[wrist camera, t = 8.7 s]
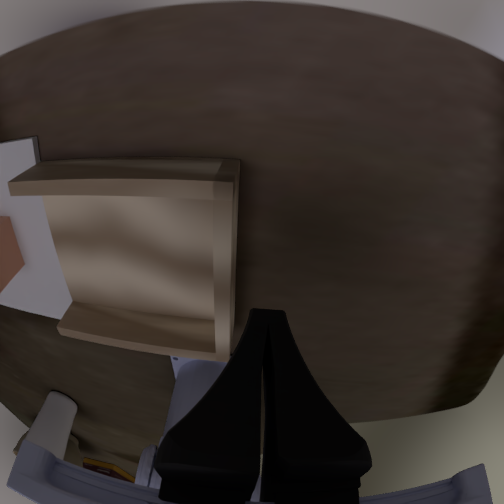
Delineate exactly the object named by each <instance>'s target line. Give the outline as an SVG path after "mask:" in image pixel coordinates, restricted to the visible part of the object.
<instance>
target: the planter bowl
mask: <svg viewBox="0 0 504 504" xmlns="http://www.w3.org/2000/svg"><path fill="white" fill-rule="evenodd" d="M27 433H28V431H27V432H26V433H25V434H24V435H23V436H22V437H21V438H20V440H19V441H18V443H17V446H16V447H15V448H14V450H13V452H14V454H15V455H16V456H17V454H18V451H19V449H20V446H21V444H22V441H23V440H24V439H25V437H26V435H27ZM78 444H79V442H78V440H77V439H76V438H75V437H74V436H73V435H71V434H70V435H69V439H68V443H67V447H66V451H65V455H64V459H63V460H64V461H66V462H69V463H71V464H74V465H77V466H79V467H82V468H83V463H82V457H81V454H80V450H79V448H78Z"/></svg>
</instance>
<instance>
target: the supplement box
mask: <svg viewBox="0 0 504 504" xmlns="http://www.w3.org/2000/svg"><path fill="white" fill-rule="evenodd" d="M83 468H85V469H88V470H91V471H94V472H97V473H100V474H103V475H106V476H109V477H113V478H116V479H120V480H123V481H127V482H131V483H134V484H135V478H134V477H132V476H131V475H129V474H128V473H126V472H125V471H123V470H122V469H120V468H119V467H117V466H116V465H114V464H109V463H105V462H100V461H96V460H93V459H89V458H84V461H83Z"/></svg>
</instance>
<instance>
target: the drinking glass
mask: <svg viewBox="0 0 504 504" xmlns="http://www.w3.org/2000/svg"><path fill="white" fill-rule="evenodd" d="M77 409H78V408H77V405H76V403H75V402H74V401H73V400H72V399H70V398H69V397H68V396H66V395H64V394H62V393H60V392H57V391H51V392H50V393H49V394H48V396H47V398H46V400H45V402H44V404H43V406H42V408H41V409H40V411H39V413H38V415H37V417H36V418H35V420H34V422H33V424H32V426H31V427H30V429H29V431H28V433H27V435H26V437H25V439H26V440H28V441H30V442H32V443H34V444H36V445H38V446H41V447H43V448H45V449H47V450H48V451H50V452H51V453H53V454H54V455H55V456H56V458H59V459H61V460H63V459H64V455H65V451H66V447H67V443H68V439H69V435H70V431H71V428H72V424H73V421H74V417H75V415H76V412H77Z"/></svg>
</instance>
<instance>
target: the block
mask: <svg viewBox="0 0 504 504" xmlns="http://www.w3.org/2000/svg"><path fill="white" fill-rule="evenodd" d="M24 265H25V263H24V260H23V257H22V255H21V252H20V249H19V246H18V243H17V239H16V236H15V233H14V230H13V226H12V223H11V219H10V216H0V293H1V292H2V291H3V289H4V288H5V287H6V286H7V285H8V283H9V282H10V281H11V280H12V279H13V278H14V276H15V275H16V274H17V273H18V272H19V271H20V269H21V268H22V267H23V266H24Z"/></svg>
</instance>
